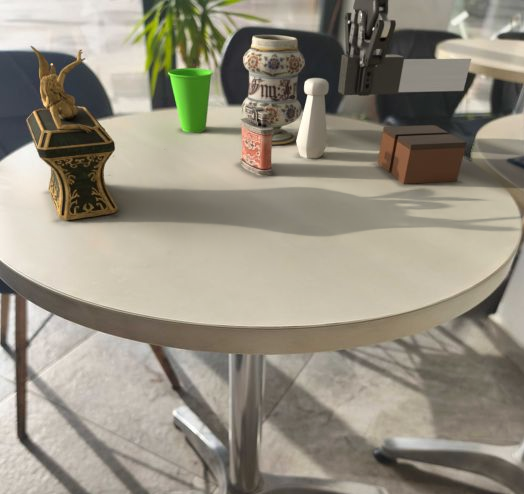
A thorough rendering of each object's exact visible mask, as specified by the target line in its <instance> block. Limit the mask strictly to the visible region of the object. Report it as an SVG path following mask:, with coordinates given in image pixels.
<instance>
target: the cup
mask: <svg viewBox="0 0 524 494" xmlns="http://www.w3.org/2000/svg"><path fill="white" fill-rule="evenodd" d="M167 74H168V76H169V77H170V83H171V88H172V92H173V96H174V100H175V104H176V110H177V115H178V119H179V123H180V128H181V129H182V131H183V132H185V133H195V134H196V133H202V132H204V131H206V128H207V120H208V119H207V118H208V109H209V100H210V89H211V79H212V75H214V73H213V71H212V70H211V69H206V68H197V67H181V68H174V69H170V70H169V71H168V72H167Z"/></svg>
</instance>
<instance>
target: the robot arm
mask: <svg viewBox="0 0 524 494" xmlns="http://www.w3.org/2000/svg"><path fill="white" fill-rule="evenodd" d="M352 6H353V7H352V11H351V12H346V13H345V14H344V39H345V41H344V42H345V45H344V46H345V55H360V61H359V66H360V67H359V72H358V80H357V88H356V94H357V95H356V96H359V97H365V96H366V97H368V96H371V95H370V94H371V89H372V82H373V75H374V69H375V67H377V65H378V64H383V61H384V58H385V56H386V55H387V52H388V49H389V47H390V44H391V41H392V38H393V35H394V32H395V30H396V26H397V22H396V20H395V19H389V18H388V17H389V16H388V15H389V0H354V2H353V5H352Z"/></svg>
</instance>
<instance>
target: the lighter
mask: <svg viewBox="0 0 524 494" xmlns="http://www.w3.org/2000/svg"><path fill="white" fill-rule="evenodd" d="M245 113H247V114H249V115H250V116H249V118H246V117H244V118H240V126H241V158H240V165H241V166H242V167H243V168H244V169H246V170H247V171H248V172H251V173H253V174H255V175H258V176H265V177H266V176H267V177H268V176H271V175H272V174H273V168H272V147H273V145H272V133H273V127H272V126H271V125H269V124H267V120H268V113H267V112H265V111H264V109H263V107H257V108H256V107H255V106H253V105H250V104H247V105H246V106H245Z"/></svg>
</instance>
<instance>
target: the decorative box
mask: <svg viewBox="0 0 524 494" xmlns="http://www.w3.org/2000/svg"><path fill="white" fill-rule="evenodd" d="M30 49H32V51H33V52H34V53H35V54H36V56H37V59H38V63H39V69H38V74H39V81H40V83H39V85H40V86H39V92H40V97H41V102H42V104H43V106H44V107H45V108H38V109H35V110H33V111H32V112H31V114H30V115H29V116H28V117H27V118H26V119H25V121H26V124H27V128H28V130H29V133H30V136H31V138H32V142H33V144H34V147H35V149H36V152H37V153H38V157H39V158H40V159H41V161H43V162H44V163H45V164H46V165H47V166H49V167H50V178H49V183H48V193H49V195H50V198H51V200H52V203H53V206H54V209H55V211H56V214H57V216H58V219H59V220H64V221H72V220H79V219H86V218H91V217H92V218H93V217H99V216H106V215H112V214H114V213H115V214H116V212H118V211H119V208H118V205H116V203H115V201H114V199H113V197H112V195H111V194H110V192H109V189H108V187H107V185H106V181H105V167H106V163H107V162H108V160H109V159H110V157H112V155H113V153H114V152H115V150H116V145H115V144H116V143H115V141H114V139H113V138H112V137H111V136H110V134H109V132H107V131H106V129H105V127H103V126H102V124H101V122H99V121H98V120H97V118H96V117H95V116H94V114H93V113H92V112H90V110H88V109H87V107H85V106H79V105H77V106H76V103H75V102H76V99H75V97H74V96H73V95H71V94H68V93H65V89H64V82H65V79H66V75H68V74H69V73H70V72H71V71H72V70H73V69H74V68H75V67H76V66H78V65H80V64H81V63H82V62H84V60H85V61H86V57H84V58H82V54H83V51H82V50H83V49H79V51H78V52H77V56H76V61H73V62H72V63H70V64H68V65H66V66H65V67H63V68H62V69H61V71H60V72H59V75H57V71H56V67H55V65H54V64H53V63H50V64H49V63H48V61H47V60H46V58H45V57H44V55H43V54H42V53H41V52H40V51H39V50H37V48H35V47H34V46H32V45H30Z"/></svg>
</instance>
